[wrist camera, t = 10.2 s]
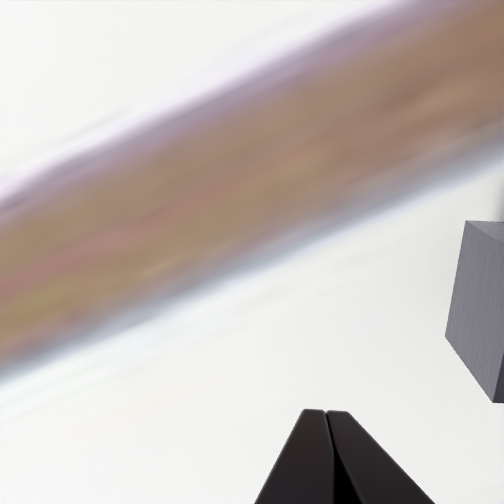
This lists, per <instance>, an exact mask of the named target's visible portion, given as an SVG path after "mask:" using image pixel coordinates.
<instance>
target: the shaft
mask: <svg viewBox="0 0 504 504" xmlns="http://www.w3.org/2000/svg"><path fill="white" fill-rule="evenodd" d="M445 337H446V339H447V340H448V342H449V343H450V344H451V346H452V347H453V349H454V350H455V351H456V353H457V354H458V355H459V357H460V358H461V360H462V361H463V362H464V364H465V365H466V367H467V368H468V369H469V371H470V372H471V374H472V375H473V376H474V378H475V379H476V380H477V382H478V383H479V385H480V386H481V387H482V389H483V390H484V392H485V393H486V394H487V396H488V397H489V399H490V400H491V401H492V403H504V222H488V221H465V227H464V233H463V238H462V244H461V249H460V255H459V260H458V266H457V272H456V277H455V283H454V288H453V294H452V300H451V305H450V311H449V316H448V322H447V328H446V333H445Z"/></svg>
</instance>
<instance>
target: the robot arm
mask: <svg viewBox="0 0 504 504" xmlns="http://www.w3.org/2000/svg"><path fill="white" fill-rule="evenodd" d="M254 504H435V503H434V502H433V501H432V500H431V499H430V498H429V497H428V496H427V495H426V494H425V492H424V491H423V490H422V489H421V488H420V487H419V486H418V485H417V484H416V483H415V482H414V481H413V480H412V479H411V478H410V477H409V476H408V475H407V473H406V472H405V471H404V470H403V469H402V468H401V467H400V466H399V465H398V464H397V463H396V462H395V461H394V460H393V459H392V458H391V457H390V456H389V454H388V453H387V452H386V451H385V450H384V449H383V448H382V447H381V446H380V445H379V444H378V443H377V442H376V441H375V440H374V439H373V438H372V436H371V435H370V434H369V433H368V432H367V431H366V430H365V429H364V428H363V427H362V426H361V425H360V424H359V423H358V422H357V421H356V420H355V419H354V417H353V416H352V415H351V414H350V413H348V412H347V411H334V410H328V411H327V412H326V413H325V411H323V410H318V409H304V410H303V411H302V412H301V414H300V416H299V418H298V420H297V422H296V424H295V426H294V428H293V430H292V432H291V433H290V435H289V437H288V439H287V441H286V443H285V445H284V447H283V449H282V451H281V453H280V455H279V457H278V459H277V460H276V462H275V464H274V466H273V468H272V470H271V472H270V474H269V476H268V478H267V480H266V482H265V484H264V486H263V487H262V489H261V491H260V493H259V495H258V497H257V499H256V501H255V503H254Z"/></svg>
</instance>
